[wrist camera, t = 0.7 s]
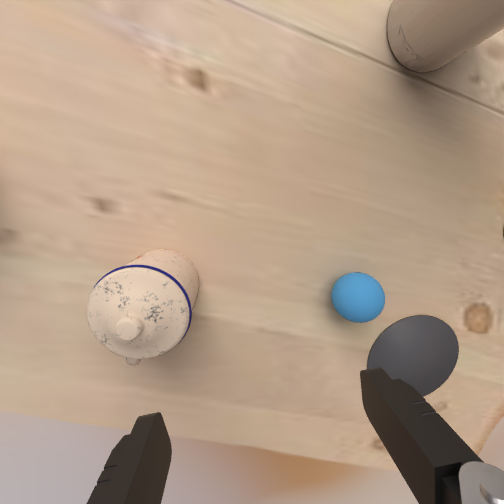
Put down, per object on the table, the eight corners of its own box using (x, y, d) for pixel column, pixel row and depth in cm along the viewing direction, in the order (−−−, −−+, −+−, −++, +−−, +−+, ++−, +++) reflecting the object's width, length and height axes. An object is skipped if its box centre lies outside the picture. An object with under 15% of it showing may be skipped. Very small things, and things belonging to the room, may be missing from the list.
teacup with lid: (135, 236, 29) (76, 261, 18) (210, 258, 31) (198, 294, 19) (114, 326, 31) (49, 398, 20) (184, 342, 33) (160, 419, 21)
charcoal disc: (423, 295, 34) (424, 296, 34) (474, 355, 37) (475, 356, 37) (348, 362, 36) (349, 363, 35) (403, 415, 39) (404, 416, 38)
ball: (348, 257, 32) (375, 270, 26) (376, 287, 34) (406, 306, 28) (315, 289, 33) (333, 308, 27) (343, 317, 34) (366, 342, 28)
